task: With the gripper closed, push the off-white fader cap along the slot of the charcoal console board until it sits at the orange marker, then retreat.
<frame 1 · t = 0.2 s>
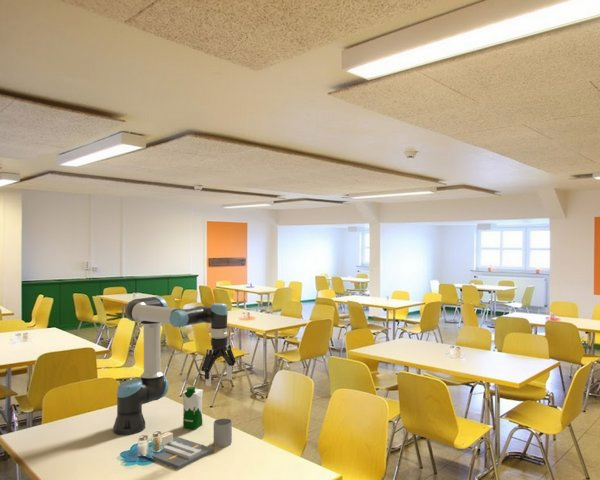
hand: (219, 382, 219), 28 cm above the table, fingers open, 13 cm apart
fader: (165, 439, 210), point 4 cm above the table, slide at 0.0 cm
console: (177, 453, 206), on the table
milk carton: (192, 426, 237), on the table
cup: (222, 443, 217), on the table
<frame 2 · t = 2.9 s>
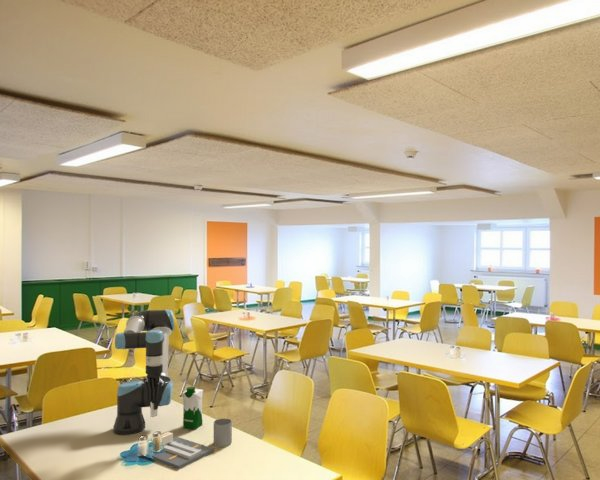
hand: (153, 416, 215), 13 cm above the table, fingers closed
nothing on the table moved.
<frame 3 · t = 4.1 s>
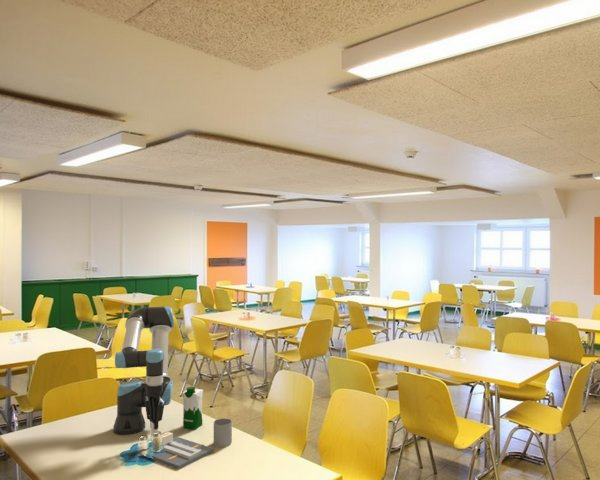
hand: (154, 435, 215), 4 cm above the table, fingers closed
nothing on the table moved.
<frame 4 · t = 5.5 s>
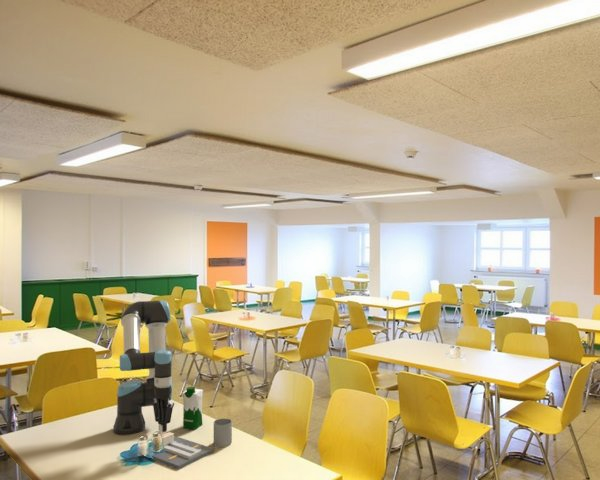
hand: (162, 438, 211), 5 cm above the table, fingers closed
fader: (166, 440, 210), point 4 cm above the table, slide at 0.6 cm, touching gripper
everything else where it was.
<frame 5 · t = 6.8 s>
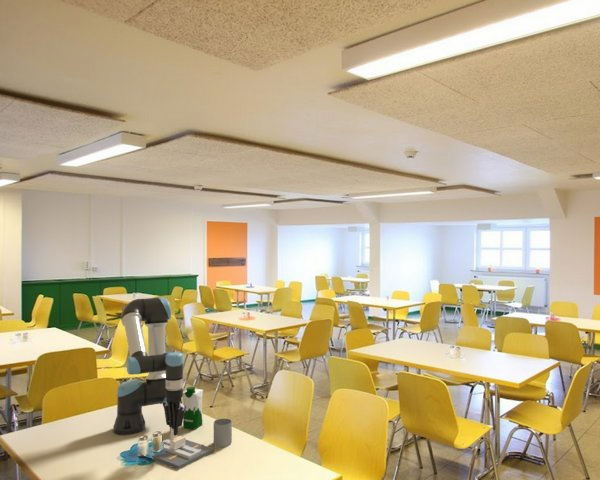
hand: (174, 442, 207), 5 cm above the table, fingers closed
fader: (177, 444, 206), point 4 cm above the table, slide at 8.0 cm, touching gripper
everything else where it was.
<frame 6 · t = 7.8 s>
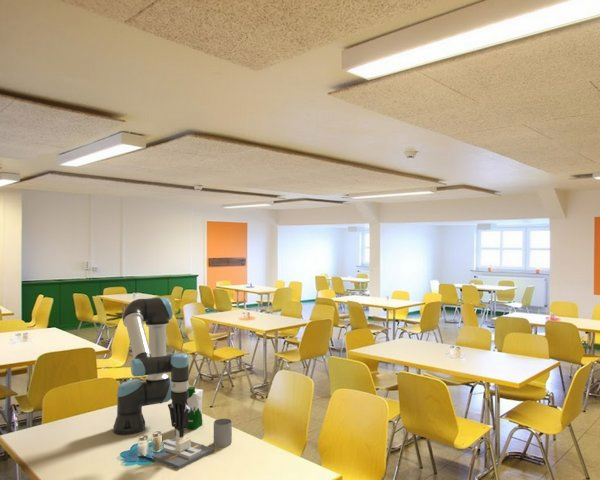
hand: (179, 444, 205), 4 cm above the table, fingers closed
fader: (183, 445, 204), point 4 cm above the table, slide at 11.5 cm, touching gripper
everything else where it was.
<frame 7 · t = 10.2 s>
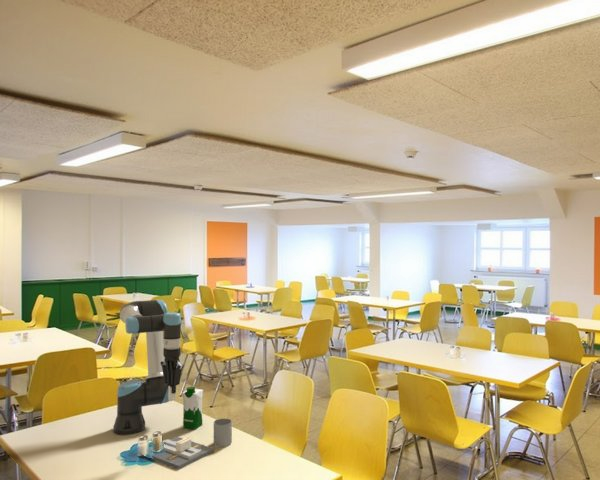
hand: (171, 400, 210), 22 cm above the table, fingers closed
fader: (183, 445, 204), point 4 cm above the table, slide at 11.7 cm
everything else where it was.
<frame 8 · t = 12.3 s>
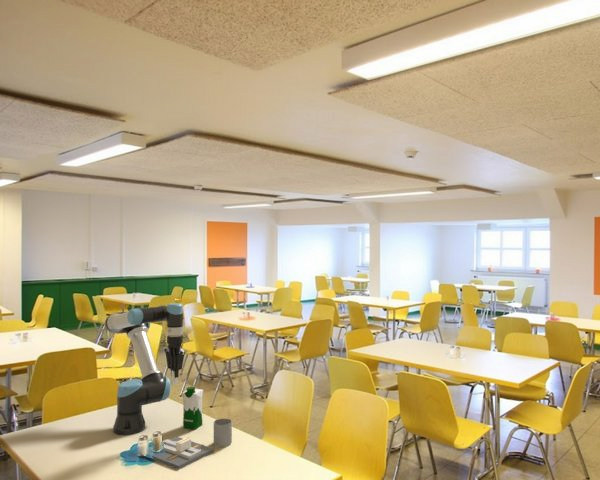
hand: (174, 383, 228), 24 cm above the table, fingers closed
nothing on the table moved.
at the end: fader slide at 11.7 cm; the gripper is holding nothing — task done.
